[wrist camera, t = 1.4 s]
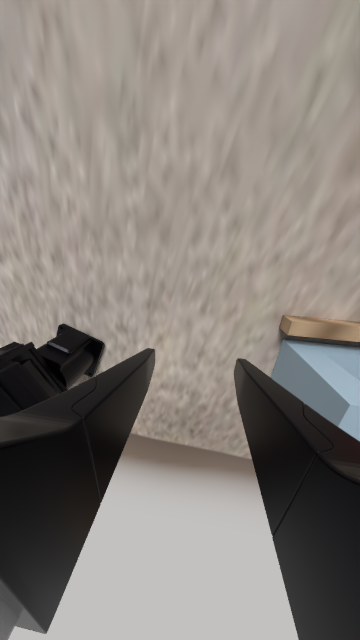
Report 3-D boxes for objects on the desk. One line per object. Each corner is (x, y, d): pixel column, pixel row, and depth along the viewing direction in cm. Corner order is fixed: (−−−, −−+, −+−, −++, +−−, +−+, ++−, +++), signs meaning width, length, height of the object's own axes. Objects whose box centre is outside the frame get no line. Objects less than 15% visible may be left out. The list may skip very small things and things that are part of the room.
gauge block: (263, 400, 24) (302, 488, 15) (282, 338, 21) (350, 404, 11) (344, 410, 23) (439, 512, 14) (378, 348, 20) (537, 428, 11)
